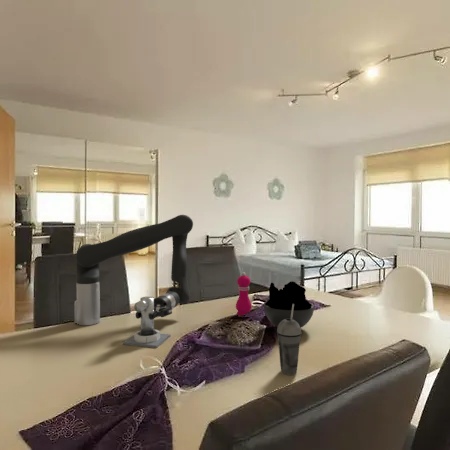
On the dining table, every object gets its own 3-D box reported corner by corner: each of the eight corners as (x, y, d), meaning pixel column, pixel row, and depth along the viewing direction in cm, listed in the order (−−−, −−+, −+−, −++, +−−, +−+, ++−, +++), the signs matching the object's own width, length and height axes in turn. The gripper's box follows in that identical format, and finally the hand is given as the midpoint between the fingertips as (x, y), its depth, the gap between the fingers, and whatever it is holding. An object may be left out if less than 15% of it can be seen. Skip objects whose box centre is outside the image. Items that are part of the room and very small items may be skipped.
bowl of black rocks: (318, 325, 152) (318, 280, 151) (307, 340, 134) (308, 289, 133) (272, 319, 160) (272, 276, 160) (256, 333, 142) (256, 284, 141)
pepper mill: (250, 318, 161) (250, 273, 161) (234, 317, 163) (234, 273, 162) (252, 314, 168) (252, 271, 168) (237, 313, 170) (237, 270, 169)
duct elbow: (132, 341, 128) (132, 301, 127) (144, 333, 137) (143, 295, 136) (146, 342, 127) (145, 302, 126) (156, 334, 135) (156, 296, 135)
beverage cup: (273, 366, 111) (274, 301, 110) (297, 366, 111) (297, 300, 111) (279, 377, 103) (279, 307, 103) (304, 376, 104) (305, 306, 103)
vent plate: (122, 344, 129) (122, 336, 129) (138, 333, 141) (138, 326, 141) (156, 347, 126) (156, 339, 126) (170, 336, 138) (170, 329, 138)
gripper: (146, 294, 149) (125, 304, 132) (179, 296, 145) (162, 307, 129) (147, 312, 149) (125, 325, 132) (180, 314, 146) (162, 328, 129)
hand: (144, 316), depth 131 cm, fingers closed on duct elbow, 4 cm apart
